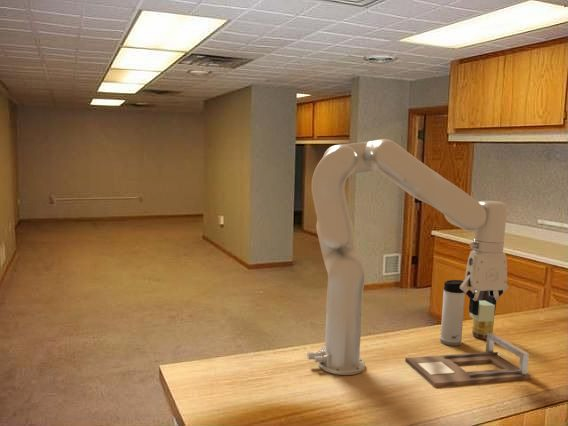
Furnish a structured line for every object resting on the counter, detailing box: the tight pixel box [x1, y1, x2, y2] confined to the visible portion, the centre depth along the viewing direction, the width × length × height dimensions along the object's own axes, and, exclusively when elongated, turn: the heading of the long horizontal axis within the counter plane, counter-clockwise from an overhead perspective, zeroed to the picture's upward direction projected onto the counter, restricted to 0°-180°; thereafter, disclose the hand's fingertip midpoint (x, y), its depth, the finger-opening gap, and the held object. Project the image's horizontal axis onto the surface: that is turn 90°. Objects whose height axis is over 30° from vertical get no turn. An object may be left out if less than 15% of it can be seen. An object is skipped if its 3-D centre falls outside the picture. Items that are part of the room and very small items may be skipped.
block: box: [469, 300, 496, 322], centre depth 138 cm, size 4×4×4 cm
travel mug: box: [439, 279, 466, 347], centre depth 158 cm, size 6×7×20 cm
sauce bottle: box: [471, 291, 496, 340], centre depth 164 cm, size 7×6×20 cm
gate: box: [485, 332, 530, 375], centre depth 141 cm, size 2×16×6 cm, turn 13°
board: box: [404, 351, 532, 388], centre depth 139 cm, size 28×16×2 cm, turn 103°
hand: (481, 312), depth 138 cm, fingers closed on block, 4 cm apart
